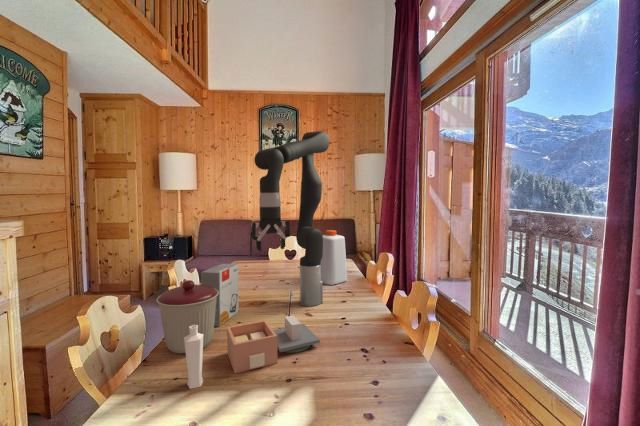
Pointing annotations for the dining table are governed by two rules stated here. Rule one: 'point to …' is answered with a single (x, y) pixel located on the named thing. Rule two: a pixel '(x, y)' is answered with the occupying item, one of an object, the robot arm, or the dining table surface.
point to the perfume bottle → (194, 357)
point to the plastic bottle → (333, 259)
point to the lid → (294, 335)
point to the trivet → (297, 349)
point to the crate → (251, 346)
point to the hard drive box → (223, 290)
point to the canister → (187, 313)
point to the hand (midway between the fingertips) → (270, 249)
